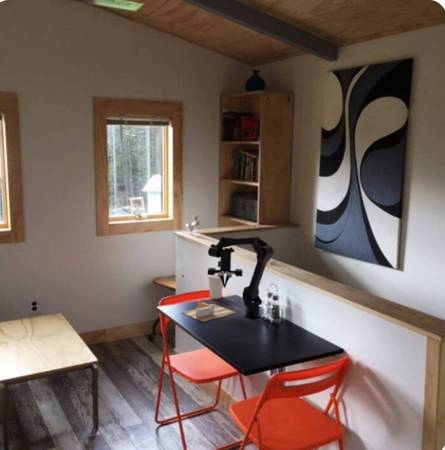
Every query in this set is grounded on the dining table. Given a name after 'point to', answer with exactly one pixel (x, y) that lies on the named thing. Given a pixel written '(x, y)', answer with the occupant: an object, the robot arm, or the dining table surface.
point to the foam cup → (215, 286)
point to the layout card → (217, 314)
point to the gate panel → (202, 304)
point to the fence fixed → (205, 311)
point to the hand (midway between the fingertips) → (224, 287)
